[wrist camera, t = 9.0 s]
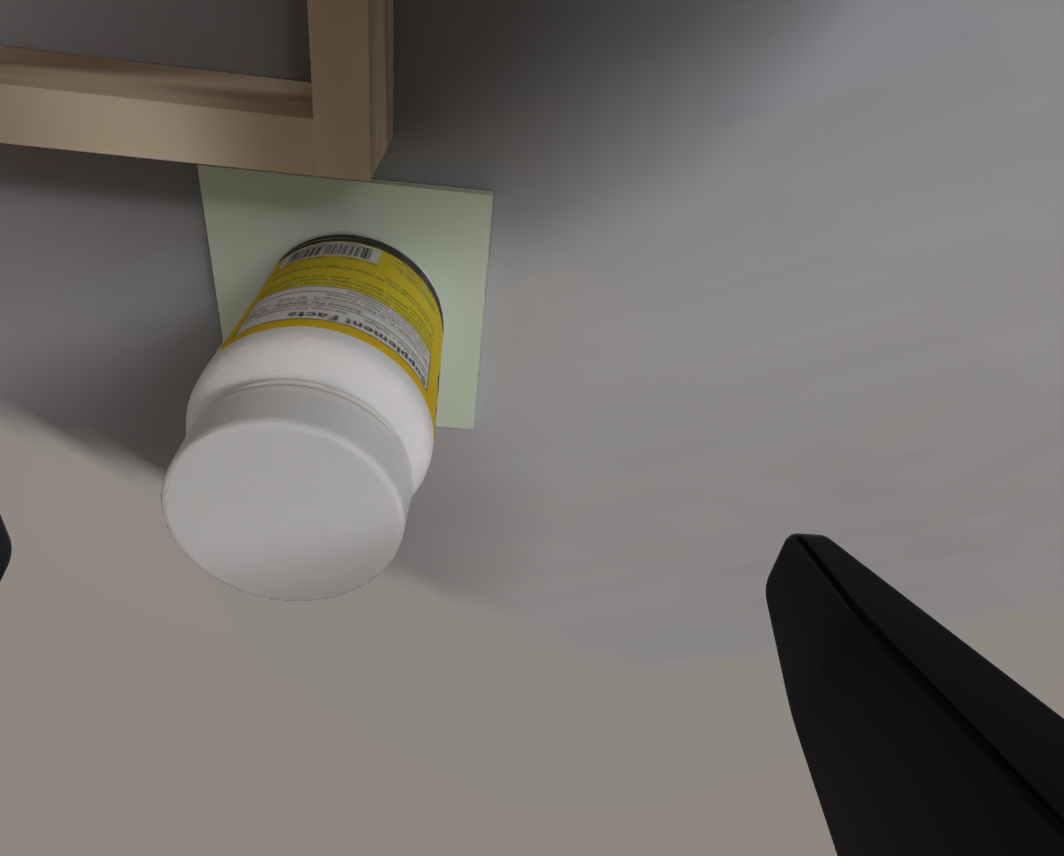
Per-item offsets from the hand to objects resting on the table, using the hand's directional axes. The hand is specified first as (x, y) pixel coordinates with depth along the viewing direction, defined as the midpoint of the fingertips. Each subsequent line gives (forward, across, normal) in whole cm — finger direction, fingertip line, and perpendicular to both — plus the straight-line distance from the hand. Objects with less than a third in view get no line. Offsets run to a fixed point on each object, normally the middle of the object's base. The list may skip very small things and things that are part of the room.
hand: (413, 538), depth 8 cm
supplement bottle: (+12, +2, +3) cm, 12 cm away
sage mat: (+12, +3, +3) cm, 12 cm away
